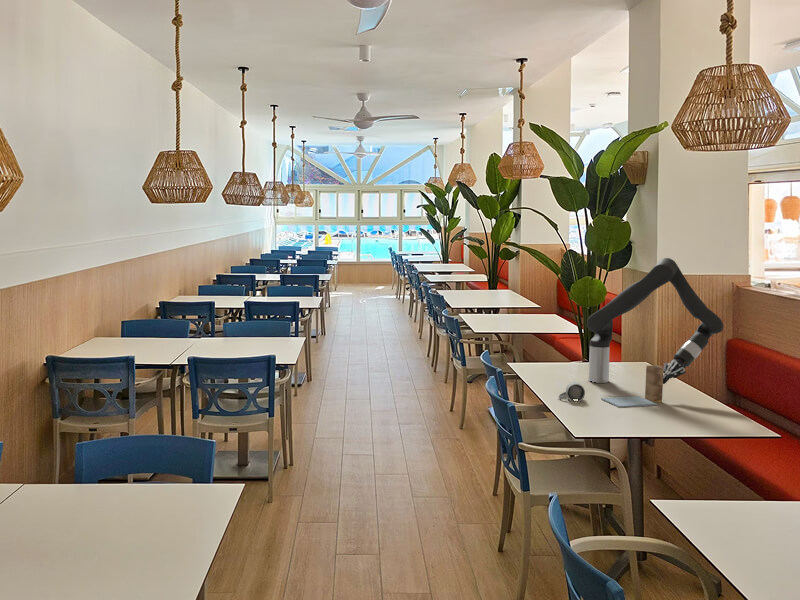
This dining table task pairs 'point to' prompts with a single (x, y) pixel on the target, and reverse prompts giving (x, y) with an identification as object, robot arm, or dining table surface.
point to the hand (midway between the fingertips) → (661, 382)
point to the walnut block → (654, 383)
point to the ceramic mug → (573, 392)
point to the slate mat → (629, 401)
